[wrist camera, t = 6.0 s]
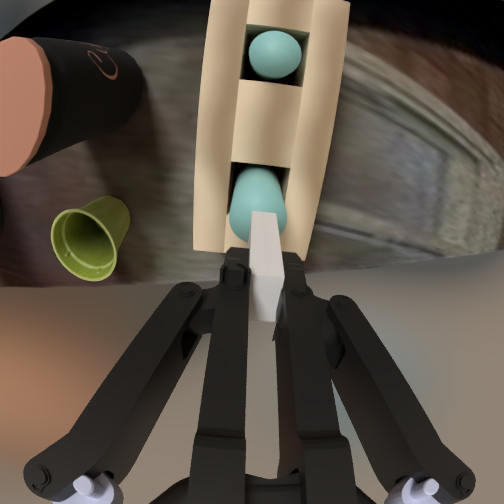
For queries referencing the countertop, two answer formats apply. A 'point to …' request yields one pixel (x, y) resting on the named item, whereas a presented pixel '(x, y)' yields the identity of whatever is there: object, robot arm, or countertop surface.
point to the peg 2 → (256, 199)
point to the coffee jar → (60, 96)
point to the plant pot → (91, 237)
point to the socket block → (266, 114)
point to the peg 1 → (274, 55)
